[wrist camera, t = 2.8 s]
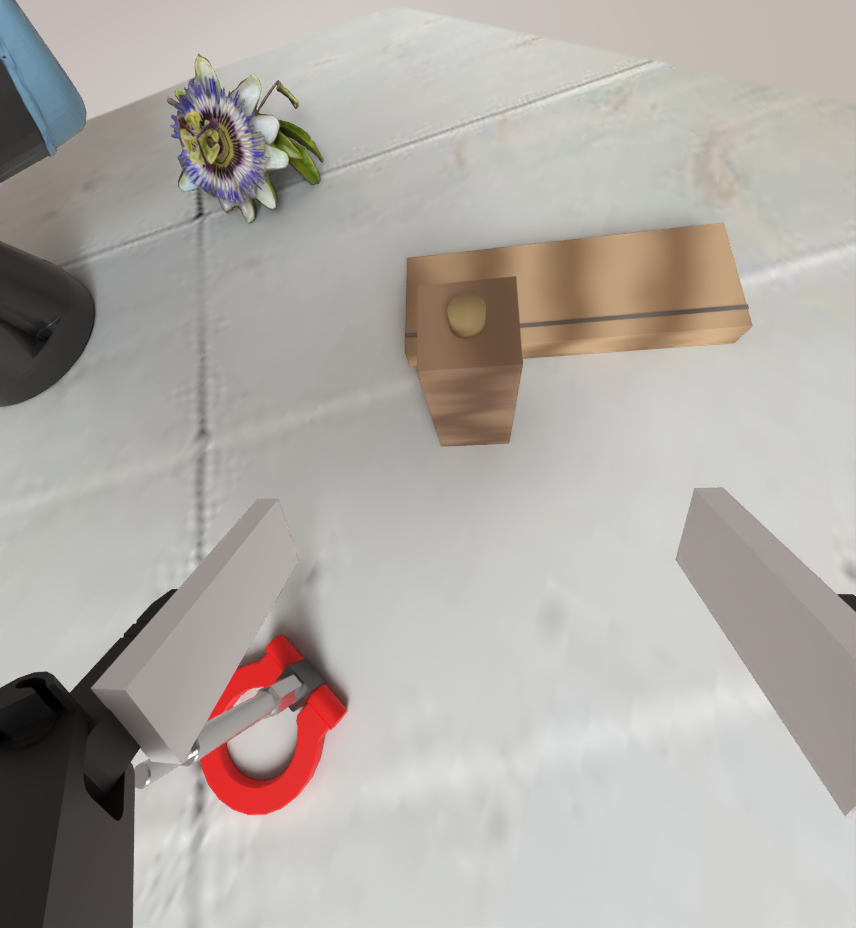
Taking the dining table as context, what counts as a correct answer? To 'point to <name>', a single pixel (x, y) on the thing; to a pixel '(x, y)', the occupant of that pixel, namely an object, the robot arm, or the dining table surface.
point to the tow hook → (284, 687)
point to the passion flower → (236, 142)
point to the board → (605, 290)
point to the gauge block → (470, 358)
